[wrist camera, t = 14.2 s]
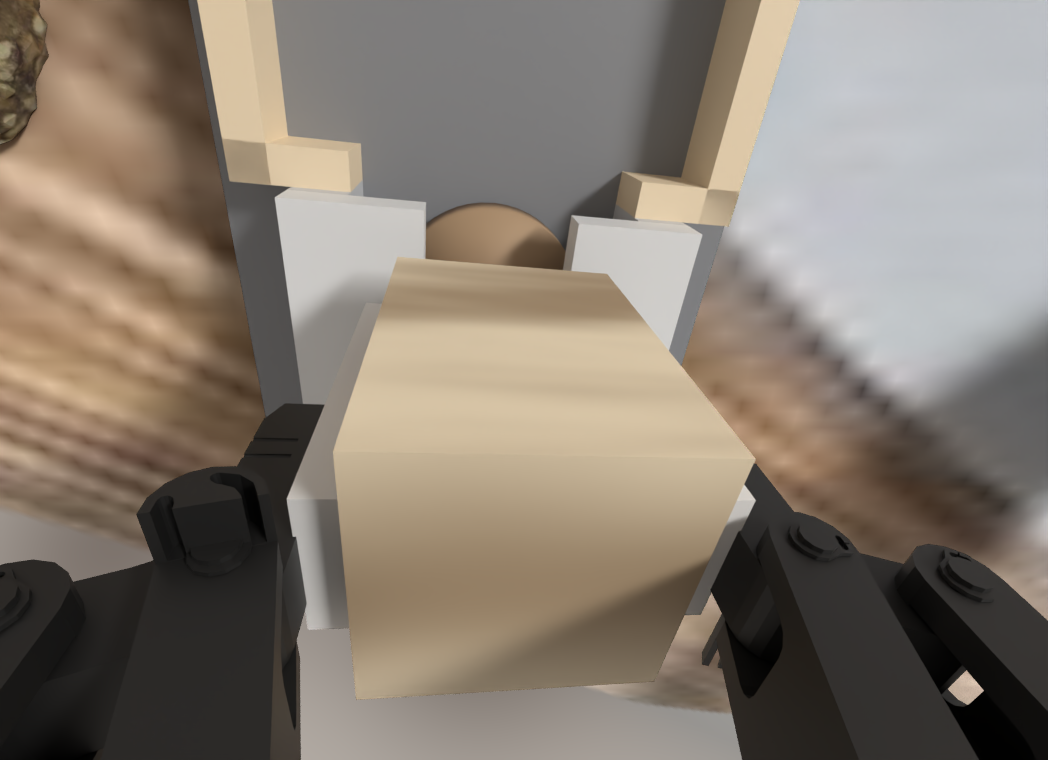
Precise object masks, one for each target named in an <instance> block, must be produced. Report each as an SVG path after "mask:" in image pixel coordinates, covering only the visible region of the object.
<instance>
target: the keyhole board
mask: <svg viewBox="0 0 1048 760" xmlns="http://www.w3.org/2000/svg"><path fill="white" fill-rule="evenodd" d="M799 1H800V0H188V2H189V7H190V13H191V18H192V23H193V29H194V34H195V39H196V45H197V50H198V56H199V61H200V66H201V72H202V77H203V82H204V88H205V93H206V99H207V104H208V109H209V115H210V120H211V125H212V131H213V136H214V142H215V147H216V152H217V158H218V163H219V168H220V174H221V179H222V185H223V190H224V195H225V201H226V206H227V211H228V217H229V222H230V228H231V233H232V238H233V244H234V249H235V254H236V260H237V265H238V271H239V276H240V281H241V287H242V292H243V297H244V303H245V308H246V314H247V319H248V324H249V330H250V335H251V340H252V346H253V351H254V357H255V362H256V367H257V373H258V378H259V383H260V389H261V394H262V400H263V405H264V410H265V416H266V417H267V416H269V415H270V414H271V413H273V412H274V411H275V410H277V409H278V408H279V407H281V406H282V405H283V404H285V403H291V404H322V405H325V403H326V400H327V398H328V396H329V393H330V391H331V388H332V386H333V383H334V381H335V378H336V376H337V373H338V371H339V368H340V366H341V363H342V361H343V358H344V356H345V353H346V351H347V348H348V346H349V344H350V341H351V339H352V336H353V334H354V331H355V329H356V326H357V324H358V321H359V319H360V316H361V314H362V311H363V309H364V306H365V304H366V303H379V304H382V302H383V299H384V296H385V293H386V290H387V287H388V284H389V281H390V278H391V275H392V272H393V269H394V266H395V263H396V260H397V257H406V258H419V259H425V252H426V224H427V223H428V222H429V221H431V220H432V219H433V218H434V217H436V216H438V215H440V214H442V213H443V212H445V211H447V210H450V209H453V208H455V207H458V206H462V205H466V204H472V203H481V202H483V203H498V204H504V205H508V206H511V207H515V208H518V209H520V210H522V211H524V212H526V213H529V214H530V215H532V216H533V217H535V218H536V219H538V220H539V221H541V222H542V223H543V224H544V225H545V226H546V227H548V228H549V229H550V231H551V232H552V233H553V234H554V235H555V236H556V238H557V239H558V241H559V242H560V244H561V245H562V247H563V248H564V250H565V251H566V253H565V259H564V266H563V270H566V271H578V272H591V273H603V274H608V276H609V277H610V278H611V279H612V281H613V282H614V283H615V284H616V285H617V287H618V288H619V289H620V290H621V292H622V293H623V294H624V295H625V297H626V298H627V299H628V300H629V302H630V303H631V304H632V305H633V307H634V308H635V309H636V310H637V312H638V313H639V314H640V315H641V317H642V318H643V319H644V320H645V322H646V323H647V324H648V325H649V327H650V328H651V329H652V330H653V332H654V333H655V334H656V335H657V337H658V338H659V339H660V340H661V342H662V343H663V344H664V345H665V347H666V348H667V349H668V350H669V352H670V353H671V354H672V355H673V357H674V358H675V359H676V360H677V362H678V363H679V364H680V365H682V361H683V358H684V355H685V352H686V349H687V345H688V342H689V339H690V336H691V332H692V329H693V326H694V323H695V320H696V316H697V313H698V310H699V307H700V303H701V300H702V297H703V294H704V290H705V287H706V284H707V281H708V278H709V274H710V271H711V268H712V265H713V261H714V258H715V255H716V252H717V248H718V245H719V242H720V239H721V236H722V232H723V229H724V226H727V227H729V224H730V221H731V218H732V215H733V212H734V208H735V205H736V202H737V199H738V196H739V192H740V189H741V186H742V183H743V180H744V177H745V173H746V170H747V167H748V164H749V161H750V157H751V154H752V151H753V148H754V145H755V141H756V138H757V135H758V132H759V129H760V126H761V122H762V119H763V116H764V113H765V110H766V106H767V103H768V100H769V97H770V94H771V91H772V87H773V84H774V81H775V78H776V75H777V71H778V68H779V65H780V62H781V59H782V56H783V52H784V49H785V46H786V43H787V40H788V36H789V33H790V30H791V27H792V24H793V21H794V17H795V14H796V11H797V8H798V5H799Z"/></svg>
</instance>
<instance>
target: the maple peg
mask: <svg viewBox="0 0 1048 760" xmlns="http://www.w3.org/2000/svg"><path fill="white" fill-rule="evenodd" d="M565 253H566V251H565V250H564V248H563V247H562V245H561V244H560V242H559V241H558V239H557V238H556V236H555V235H554V234H553V233H552V232H551V231H550V229H549V228H548V227H546V226H545V225H544V224H543V223H542V222H541V221H539V220H538V219H536V218H535V217H533V216H532V215H530V214H529V213H526V212H524V211H522V210H520V209H518V208H515V207H511V206H508V205H504V204H498V203H483V202H481V203H472V204H466V205H462V206H458V207H455V208H453V209H450V210H447V211H445V212H443V213H442V214H440V215H438V216H436V217H434V218H433V219H432V220H431V221H429V222H428V223H427V224H426V252H425V259H419V258H406V257H397V260H396V263H395V266H394V269H393V272H392V275H391V278H390V281H389V284H388V287H387V290H386V293H385V296H384V299H383V302H382V305H381V308H380V311H379V314H378V317H377V320H376V323H375V326H374V329H373V332H372V335H371V338H370V341H369V344H368V347H367V350H366V353H365V356H364V359H363V362H362V365H361V368H360V371H359V374H358V377H357V380H356V383H355V386H354V389H353V392H352V395H351V398H350V401H349V404H348V407H347V410H346V413H345V416H344V419H343V422H342V425H341V428H340V431H339V434H338V437H337V440H336V444H335V447H334V450H333V458H334V469H335V480H336V490H337V501H338V512H339V522H340V533H341V544H342V554H343V565H344V576H345V586H346V597H347V608H348V618H349V629H350V640H351V650H352V661H353V672H354V682H355V693H356V700H363V699H379V698H395V697H410V696H411V697H412V696H428V695H444V694H460V693H476V692H493V691H508V690H525V689H541V688H558V687H574V686H590V685H607V684H623V683H639V682H654V681H655V679H656V676H657V674H658V672H659V670H660V668H661V665H662V663H663V661H664V659H665V657H666V654H667V652H668V650H669V648H670V646H671V643H672V641H673V639H674V637H675V635H676V633H677V630H678V628H679V626H680V624H681V622H682V619H683V617H684V615H685V613H686V611H687V608H688V606H689V604H690V602H691V600H692V598H693V595H694V593H695V591H696V589H697V587H698V584H699V582H700V580H701V578H702V576H703V573H704V571H705V569H706V567H707V565H708V562H709V560H710V558H711V556H712V554H713V552H714V549H715V547H716V545H717V543H718V541H719V538H720V536H721V534H722V532H723V530H724V527H725V525H726V523H727V521H728V519H729V516H730V514H731V512H732V510H733V508H734V506H735V503H736V501H737V499H738V497H739V495H740V492H741V490H742V488H743V486H744V484H745V481H746V479H747V477H748V475H749V473H750V471H751V468H752V466H753V464H754V462H755V460H756V459H755V458H754V456H753V455H752V454H751V453H750V451H749V450H748V449H747V448H746V446H745V445H744V444H743V443H742V441H741V440H740V439H739V438H738V436H737V435H736V434H735V433H734V431H733V430H732V429H731V428H730V426H729V425H728V424H727V423H726V421H725V420H724V419H723V418H722V416H721V415H720V414H719V413H718V411H717V410H716V409H715V408H714V406H713V405H712V404H711V403H710V401H709V400H708V399H707V398H706V396H705V395H704V394H703V393H702V391H701V390H700V389H699V388H698V386H697V385H696V384H695V383H694V381H693V380H692V379H691V378H690V376H689V375H688V374H687V373H686V371H685V370H684V369H683V368H682V367H681V365H680V364H679V363H678V362H677V360H676V359H675V358H674V357H673V355H672V354H671V353H670V352H669V350H668V349H667V348H666V347H665V345H664V344H663V343H662V342H661V340H660V339H659V338H658V337H657V335H656V334H655V333H654V332H653V330H652V329H651V328H650V327H649V325H648V324H647V323H646V322H645V320H644V319H643V318H642V317H641V315H640V314H639V313H638V312H637V310H636V309H635V308H634V307H633V305H632V304H631V303H630V302H629V300H628V299H627V298H626V297H625V295H624V294H623V293H622V292H621V290H620V289H619V288H618V287H617V285H616V284H615V283H614V282H613V281H612V279H611V278H610V277H609V276H608V274H603V273H591V272H578V271H566V270H563V266H564V259H565Z"/></svg>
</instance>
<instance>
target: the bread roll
mask: <svg viewBox="0 0 1048 760" xmlns="http://www.w3.org/2000/svg"><path fill="white" fill-rule="evenodd" d="M39 8H40V2H39V0H0V144H2V143H5V142H8V141H10V140H12V139H13V138H14V137H15V136H16V135H17V134H18V133H19V132H20V131H21V130H22V129H23V128H24V127H25V126H26V125H27V123H28V120H29V117H30V115H31V113H32V112H33V111H34V110H35V109H36V108H37V99H36V87H35V86H36V79H37V77H38V76H39V74H40V72H41V70H42V67H43V65H44V63H45V62H46V60H47V58H48V57H49V54H48V51H47V48H46V45H45V42H44V40H45V35H46V29H47V23H46V22H45V21H44V19H43V18H42V17H41V15H40V13H39Z"/></svg>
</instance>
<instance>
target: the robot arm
mask: <svg viewBox="0 0 1048 760" xmlns="http://www.w3.org/2000/svg"><path fill="white" fill-rule="evenodd" d="M381 305H382V304H379V303H366V304H365V306H364V309H363V311H362V314H361V316H360V319H359V321H358V324H357V326H356V329H355V331H354V334H353V336H352V339H351V341H350V344H349V346H348V348H347V351H346V353H345V356H344V358H343V361H342V363H341V366H340V368H339V371H338V373H337V376H336V378H335V381H334V383H333V386H332V388H331V391H330V393H329V396H328V398H327V400H326V403H325V405H322V404H291V403H285V404H283V405H282V406H281V407H279V408H278V409H277V410H275V411H274V412H273V413H271V414H270V415H269V416H267V417H266V418H265V419H264V420H263V422H262V423H261V425H260V427H259V429H258V431H257V432H256V434H255V436H254V439H253V441H251V443H250V445H249V446H248V448H247V450H246V452H245V453H244V454H245V456H244V458H242V459H241V460H240V462H239V464H238V466H237V467H236V466H230V467H210V468H206V469H202V470H198V471H194V472H189V473H187V474H185V475H183V476H180V477H178V478H176V479H174V480H172V481H170V482H167V483H165V484H164V485H163V486H162V487H160V488H159V489H158V490H156V491H155V492H154V493H153V494H151V495H150V496H149V497H147V499H146V500H145V502H144V503H143V505H142V506H141V508H140V509H139V511H138V513H137V514H136V515H137V517H138V520H139V523H140V525H141V528H142V530H143V533H144V536H145V538H146V541H147V544H148V546H149V549H150V552H151V554H152V557H153V559H154V560H153V561H151V562H148V563H145V564H141V565H138V566H135V567H132V568H128V569H124V570H120V571H116V572H112V573H108V574H103V575H100V576H96V577H92V578H87V579H83V580H79V581H75V582H73V581H72V579H71V577H70V576H69V573H68V572H67V571H65V570H64V569H63V568H62V567H60V566H59V565H58V564H56V563H54V562H47V561H39V560H27V561H21V562H13V563H7V564H3V565H0V760H301V746H300V745H301V744H300V656H299V651H298V646H297V637H298V633H299V630H300V626H301V622H302V619H303V615H304V612H305V614H306V620H307V627H308V630H315V629H341V628H349V618H348V608H347V597H346V586H345V576H344V565H343V554H342V544H341V533H340V522H339V512H338V501H337V490H336V480H335V469H334V458H333V450H334V447H335V444H336V440H337V437H338V434H339V431H340V428H341V425H342V422H343V419H344V416H345V413H346V410H347V407H348V404H349V401H350V398H351V395H352V392H353V389H354V386H355V383H356V380H357V377H358V374H359V371H360V368H361V365H362V362H363V359H364V356H365V353H366V350H367V347H368V344H369V341H370V338H371V335H372V332H373V329H374V326H375V323H376V320H377V317H378V314H379V311H380V308H381ZM711 592H712V594H713V596H714V598H715V600H716V602H717V604H718V606H719V608H720V610H721V612H722V615H721V617H720V619H719V621H718V622H717V624H716V626H715V628H714V630H713V632H712V634H711V636H710V638H709V640H708V642H707V644H706V646H705V648H704V650H703V651H702V665H707V666H709V664H710V662H711V660H712V658H713V656H714V654H715V653H716V651H717V649H718V651H719V655H720V660H719V663H718V668H722V669H723V674H724V678H725V683H726V687H727V692H728V697H729V701H730V706H731V710H732V715H733V719H734V724H735V729H736V733H737V738H738V742H739V747H740V752H741V756H742V760H1048V621H1047V620H1046V619H1045V618H1044V617H1043V616H1042V615H1041V614H1040V613H1039V612H1038V611H1037V610H1035V609H1034V608H1033V607H1032V606H1031V605H1030V604H1029V603H1028V602H1027V601H1026V600H1025V599H1023V598H1022V597H1021V596H1020V595H1019V594H1018V593H1017V592H1016V591H1015V590H1014V589H1013V588H1011V587H1010V586H1009V585H1008V584H1007V583H1006V582H1005V581H1004V580H1003V579H1001V578H1000V577H999V576H998V575H996V574H995V573H994V572H992V571H991V570H990V569H989V568H987V567H986V566H985V565H983V564H981V563H979V562H978V561H976V560H974V559H972V558H971V557H970V556H968V555H966V554H963V553H961V552H958V551H956V550H952V549H950V548H947V547H944V546H938V545H931V544H927V545H922V546H918V547H916V549H915V550H914V551H913V553H912V554H911V555H910V557H909V558H908V559H907V561H906V562H905V563H904V564H901V563H897V562H893V561H889V560H885V559H881V558H877V557H873V556H869V555H865V554H861V553H859V552H858V551H857V549H856V548H855V547H854V546H853V544H852V543H851V542H850V541H849V539H848V538H847V537H845V536H844V535H843V534H842V533H840V532H839V531H838V530H837V529H835V528H834V527H833V526H831V525H829V524H827V523H825V522H823V521H822V520H820V519H818V518H816V517H813V516H809V515H806V514H803V513H799V512H794V511H793V510H792V509H791V507H790V506H789V505H788V504H787V502H786V501H785V500H784V499H783V497H782V496H781V495H780V494H779V492H778V491H777V490H776V488H775V487H774V486H773V485H772V483H771V482H770V481H769V480H768V478H767V477H766V476H765V475H764V473H763V472H762V471H761V470H760V468H759V467H758V466H757V464H753V466H752V468H751V471H750V473H749V475H748V477H747V479H746V481H745V484H744V486H743V488H742V490H741V492H740V495H739V497H738V499H737V501H736V503H735V506H734V508H733V510H732V512H731V514H730V516H729V519H728V521H727V523H726V525H725V527H724V530H723V532H722V534H721V536H720V538H719V541H718V543H717V545H716V547H715V549H714V552H713V554H712V556H711V558H710V560H709V562H708V565H707V567H706V569H705V571H704V573H703V576H702V578H701V580H700V582H699V584H698V587H697V589H696V591H695V593H694V595H693V598H692V600H691V602H690V604H689V606H688V608H687V611H686V613H685V615H701V613H702V611H703V609H704V607H705V605H706V603H707V601H708V598H709V596H710V594H711ZM966 670H967V671H968V672H969V673H970V675H971V676H972V677H973V678H974V679H975V680H976V682H977V683H978V684H979V685H980V686H981V687H982V689H983V690H984V691H983V692H982V693H981V694H980V695H979V696H978V697H977V698H976V699H975V700H974V701H973V702H971V703H970V704H969V705H966V704H965V703H963V702H961V701H959V700H958V699H957V698H956V697H955V696H954V695H953V694H952V693H951V692H950V691H949V690H948V688H949V687H950V686H951V685H952V684H953V683H954V682H955V681H956V680H957V679H958V678H959V677H960V676H961V675H962V674H963V673H964V672H965V671H966Z"/></svg>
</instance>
